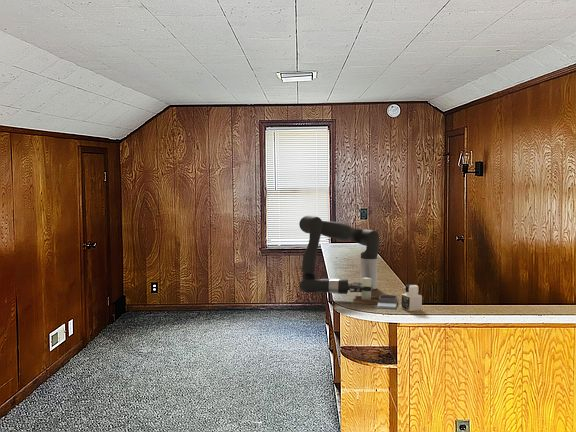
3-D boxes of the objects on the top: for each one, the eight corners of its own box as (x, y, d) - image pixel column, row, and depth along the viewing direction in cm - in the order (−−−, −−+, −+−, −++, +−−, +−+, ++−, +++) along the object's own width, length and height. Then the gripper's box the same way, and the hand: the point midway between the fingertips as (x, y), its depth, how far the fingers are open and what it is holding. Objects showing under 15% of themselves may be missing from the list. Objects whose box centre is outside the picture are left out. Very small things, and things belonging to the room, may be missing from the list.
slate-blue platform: (378, 304, 299) (378, 302, 299) (396, 305, 297) (396, 303, 297) (377, 307, 292) (377, 305, 292) (395, 308, 290) (395, 306, 289)
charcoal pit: (380, 300, 308) (380, 294, 307) (396, 301, 306) (396, 295, 305) (378, 304, 299) (378, 298, 299) (396, 305, 297) (396, 299, 297)
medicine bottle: (401, 308, 291) (401, 283, 290) (413, 306, 294) (414, 282, 293) (409, 311, 285) (409, 286, 284) (421, 310, 287) (422, 285, 286)
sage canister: (361, 300, 308) (362, 277, 307) (371, 300, 307) (371, 277, 306) (360, 302, 303) (361, 279, 302) (370, 302, 302) (371, 279, 301)
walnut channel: (355, 299, 311) (355, 295, 311) (378, 300, 308) (378, 296, 308) (353, 302, 302) (353, 299, 302) (377, 304, 299) (377, 300, 299)
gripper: (336, 281, 300) (370, 283, 297) (340, 276, 314) (373, 278, 310) (336, 296, 301) (370, 298, 297) (340, 290, 315) (372, 292, 311)
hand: (371, 287), depth 304 cm, fingers closed on sage canister, 5 cm apart
